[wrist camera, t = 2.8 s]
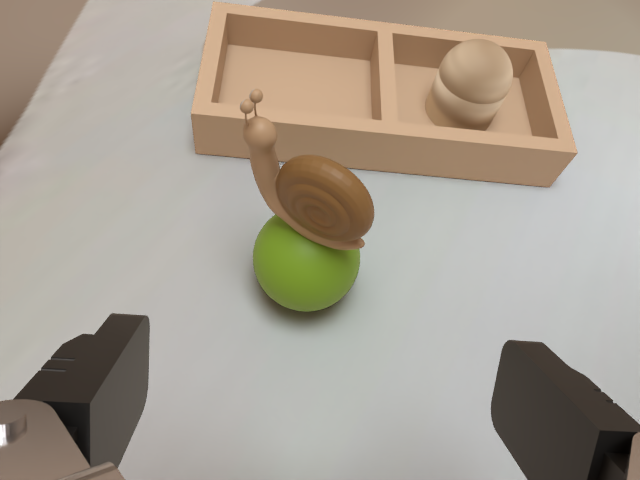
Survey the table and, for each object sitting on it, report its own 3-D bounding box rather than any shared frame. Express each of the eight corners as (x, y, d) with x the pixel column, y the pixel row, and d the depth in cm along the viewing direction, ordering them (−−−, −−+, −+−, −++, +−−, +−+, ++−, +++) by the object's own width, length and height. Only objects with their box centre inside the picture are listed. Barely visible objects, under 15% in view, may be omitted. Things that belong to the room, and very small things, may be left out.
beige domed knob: (486, 90, 38) (518, 27, 33) (495, 140, 35) (532, 79, 31) (422, 83, 37) (447, 18, 33) (427, 133, 35) (455, 70, 30)
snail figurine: (269, 215, 31) (281, 52, 21) (366, 266, 31) (428, 121, 20) (217, 287, 29) (202, 139, 19) (321, 345, 28) (367, 223, 18)
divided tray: (523, 80, 40) (545, 42, 37) (549, 187, 35) (577, 152, 32) (215, 44, 38) (213, 1, 35) (195, 153, 33) (190, 113, 30)
